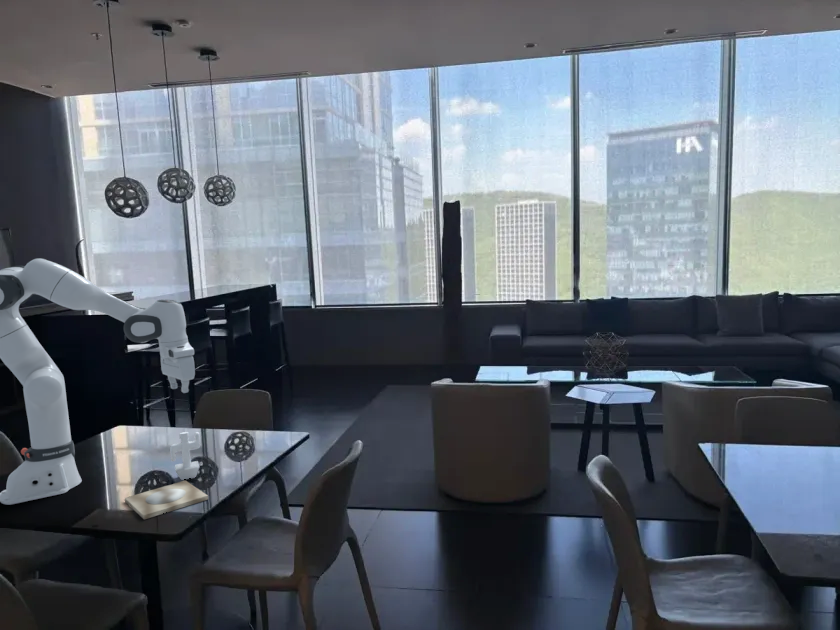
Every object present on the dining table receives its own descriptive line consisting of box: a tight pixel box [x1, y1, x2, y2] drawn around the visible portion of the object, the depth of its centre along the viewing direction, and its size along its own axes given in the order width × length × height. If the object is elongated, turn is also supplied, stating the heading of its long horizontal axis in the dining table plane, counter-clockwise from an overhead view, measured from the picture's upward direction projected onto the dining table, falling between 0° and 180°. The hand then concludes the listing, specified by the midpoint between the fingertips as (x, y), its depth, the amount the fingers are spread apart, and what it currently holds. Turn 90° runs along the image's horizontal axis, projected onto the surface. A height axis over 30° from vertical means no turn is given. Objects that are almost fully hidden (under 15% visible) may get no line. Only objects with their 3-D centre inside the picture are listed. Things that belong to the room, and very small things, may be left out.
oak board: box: [124, 480, 209, 520], centre depth 176 cm, size 18×18×1 cm
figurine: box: [169, 431, 201, 481], centre depth 194 cm, size 7×9×15 cm
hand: (179, 390), depth 194 cm, fingers open, 8 cm apart
